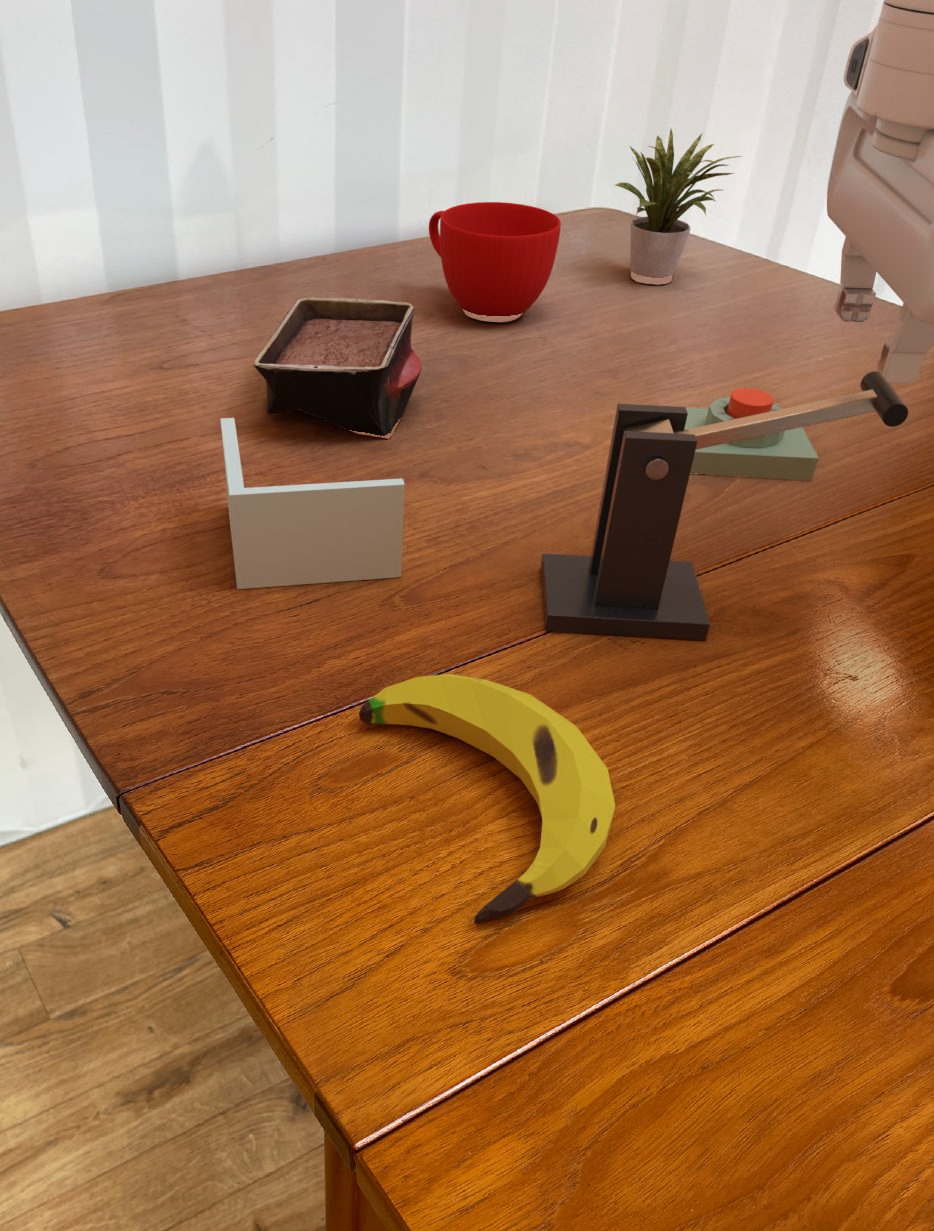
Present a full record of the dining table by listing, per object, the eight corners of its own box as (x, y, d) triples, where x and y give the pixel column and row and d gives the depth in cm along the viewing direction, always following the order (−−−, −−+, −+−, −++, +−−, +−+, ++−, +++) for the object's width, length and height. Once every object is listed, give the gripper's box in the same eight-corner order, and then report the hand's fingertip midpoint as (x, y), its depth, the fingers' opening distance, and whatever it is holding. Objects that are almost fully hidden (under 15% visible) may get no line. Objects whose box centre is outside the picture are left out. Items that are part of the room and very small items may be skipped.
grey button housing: (788, 435, 97) (800, 393, 94) (811, 481, 90) (825, 438, 87) (668, 429, 97) (677, 387, 95) (682, 474, 90) (692, 431, 88)
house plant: (683, 310, 121) (716, 153, 110) (574, 286, 126) (596, 133, 116) (725, 278, 130) (759, 130, 119) (622, 256, 136) (646, 113, 125)
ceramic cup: (466, 277, 128) (472, 187, 121) (573, 316, 119) (586, 221, 112) (388, 300, 121) (390, 206, 115) (495, 343, 112) (504, 244, 105)
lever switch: (883, 397, 67) (884, 360, 65) (907, 431, 63) (909, 394, 61) (627, 452, 70) (622, 419, 69) (635, 487, 66) (631, 453, 65)
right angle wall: (401, 577, 77) (404, 484, 72) (237, 589, 75) (229, 495, 70) (375, 497, 86) (376, 410, 81) (227, 507, 84) (220, 418, 79)
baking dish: (239, 448, 96) (233, 349, 89) (301, 348, 107) (301, 253, 100) (390, 481, 95) (397, 383, 87) (437, 376, 106) (447, 281, 98)
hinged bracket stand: (688, 577, 78) (732, 399, 69) (705, 641, 72) (757, 455, 63) (540, 569, 78) (565, 391, 69) (545, 631, 72) (573, 445, 63)
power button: (764, 408, 92) (769, 389, 91) (772, 426, 90) (778, 406, 89) (722, 406, 93) (727, 387, 91) (730, 423, 90) (735, 404, 89)
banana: (407, 626, 65) (254, 788, 57) (669, 722, 57) (533, 925, 49) (415, 679, 68) (271, 839, 60) (663, 777, 60) (535, 975, 52)
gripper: (1113, 123, 45) (989, 425, 54) (952, 45, 61) (876, 291, 70) (964, 119, 45) (865, 420, 55) (841, 42, 61) (780, 287, 70)
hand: (870, 346), depth 62 cm, fingers open, 8 cm apart
